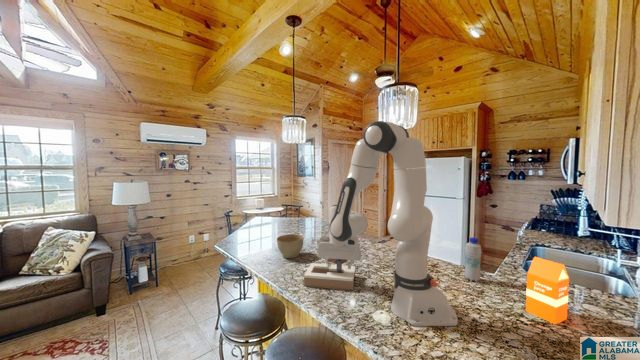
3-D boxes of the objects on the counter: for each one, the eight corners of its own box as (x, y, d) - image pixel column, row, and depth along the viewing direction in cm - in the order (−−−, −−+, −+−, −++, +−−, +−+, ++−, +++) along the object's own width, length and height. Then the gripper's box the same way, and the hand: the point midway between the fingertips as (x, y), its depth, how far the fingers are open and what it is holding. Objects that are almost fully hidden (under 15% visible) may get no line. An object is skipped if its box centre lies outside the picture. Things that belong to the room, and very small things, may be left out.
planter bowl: (305, 251, 158) (305, 234, 158) (301, 261, 142) (301, 242, 142) (280, 250, 160) (280, 233, 159) (273, 260, 144) (273, 241, 143)
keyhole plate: (355, 276, 122) (355, 266, 122) (353, 290, 109) (353, 279, 108) (311, 272, 127) (311, 263, 127) (304, 285, 113) (304, 275, 113)
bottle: (482, 279, 118) (483, 237, 116) (479, 284, 113) (480, 240, 111) (466, 275, 122) (467, 234, 121) (462, 279, 117) (463, 237, 116)
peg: (345, 279, 119) (345, 256, 118) (344, 284, 114) (344, 261, 113) (334, 278, 120) (334, 256, 119) (333, 283, 115) (333, 260, 114)
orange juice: (555, 324, 84) (558, 266, 83) (525, 310, 92) (527, 257, 91) (567, 318, 88) (570, 262, 86) (537, 305, 96) (539, 254, 94)
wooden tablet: (347, 246, 164) (361, 247, 158) (347, 249, 164) (361, 250, 158) (324, 259, 142) (339, 261, 136) (325, 263, 142) (340, 265, 136)
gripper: (315, 239, 115) (315, 269, 116) (360, 241, 111) (360, 272, 111) (318, 235, 121) (318, 263, 122) (361, 237, 117) (361, 266, 118)
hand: (339, 267), depth 117 cm, fingers open, 8 cm apart
